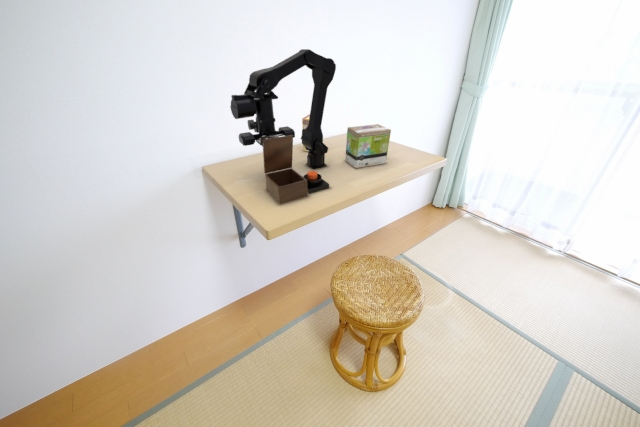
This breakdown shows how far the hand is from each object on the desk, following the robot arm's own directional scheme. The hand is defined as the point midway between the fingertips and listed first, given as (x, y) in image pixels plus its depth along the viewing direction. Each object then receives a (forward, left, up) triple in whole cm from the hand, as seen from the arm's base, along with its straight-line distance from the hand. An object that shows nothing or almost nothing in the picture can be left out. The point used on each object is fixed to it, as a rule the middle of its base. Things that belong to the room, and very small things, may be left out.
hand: (270, 159), depth 95 cm
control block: (-10, +13, -8) cm, 18 cm away
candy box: (-29, -23, -8) cm, 38 cm away
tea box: (-41, +5, -8) cm, 42 cm away
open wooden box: (0, +13, -8) cm, 16 cm away
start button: (-11, +13, -5) cm, 17 cm away
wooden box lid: (0, +9, +4) cm, 10 cm away
